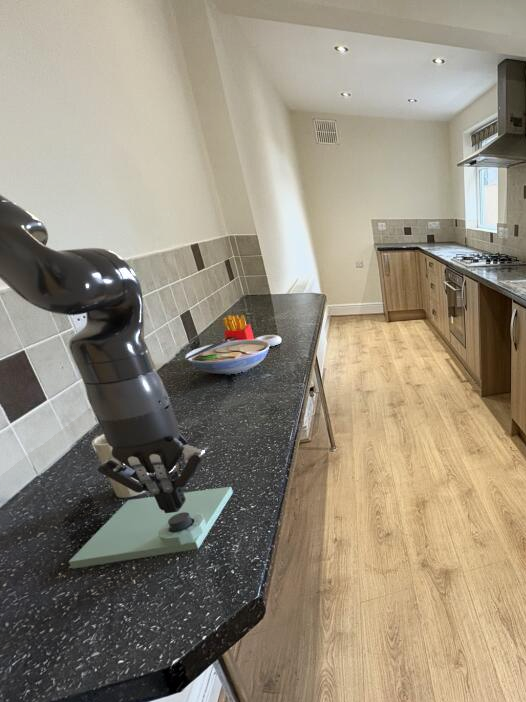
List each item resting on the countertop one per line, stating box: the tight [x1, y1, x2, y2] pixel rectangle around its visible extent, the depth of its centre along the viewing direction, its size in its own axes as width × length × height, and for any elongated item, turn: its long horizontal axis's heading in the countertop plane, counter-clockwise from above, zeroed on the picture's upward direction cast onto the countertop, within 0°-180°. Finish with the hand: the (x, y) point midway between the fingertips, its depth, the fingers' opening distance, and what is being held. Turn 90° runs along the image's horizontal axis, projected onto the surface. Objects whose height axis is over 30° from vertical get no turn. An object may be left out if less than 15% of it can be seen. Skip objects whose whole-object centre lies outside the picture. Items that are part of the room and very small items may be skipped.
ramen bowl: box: [178, 336, 270, 376], centre depth 131 cm, size 25×23×8 cm
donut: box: [254, 334, 283, 346], centre depth 157 cm, size 10×4×10 cm
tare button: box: [168, 512, 193, 533], centre depth 63 cm, size 3×3×2 cm
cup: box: [91, 433, 147, 499], centre depth 74 cm, size 6×6×11 cm
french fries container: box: [221, 314, 255, 341], centre depth 145 cm, size 7×9×14 cm
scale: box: [68, 486, 234, 570], centre depth 66 cm, size 16×14×3 cm
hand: (175, 509), depth 61 cm, fingers closed
